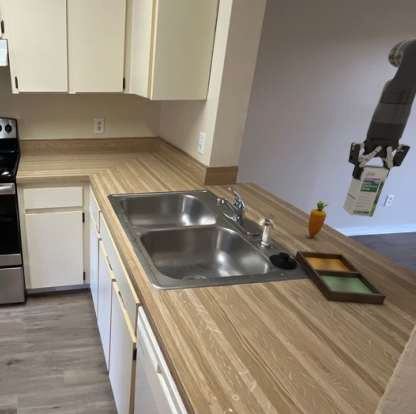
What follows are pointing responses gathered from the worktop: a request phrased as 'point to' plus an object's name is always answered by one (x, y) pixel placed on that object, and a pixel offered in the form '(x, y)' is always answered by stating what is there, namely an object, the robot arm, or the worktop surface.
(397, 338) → the worktop surface
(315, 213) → the carrot
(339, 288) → the sorting tray
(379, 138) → the robot arm
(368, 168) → the syrup box
